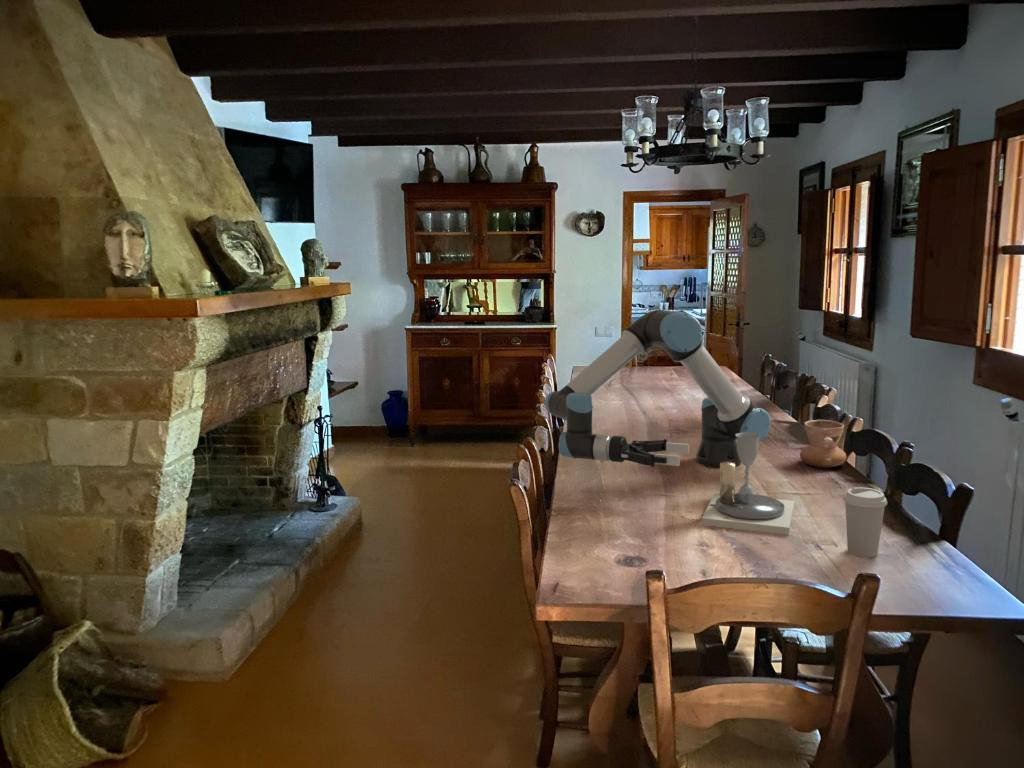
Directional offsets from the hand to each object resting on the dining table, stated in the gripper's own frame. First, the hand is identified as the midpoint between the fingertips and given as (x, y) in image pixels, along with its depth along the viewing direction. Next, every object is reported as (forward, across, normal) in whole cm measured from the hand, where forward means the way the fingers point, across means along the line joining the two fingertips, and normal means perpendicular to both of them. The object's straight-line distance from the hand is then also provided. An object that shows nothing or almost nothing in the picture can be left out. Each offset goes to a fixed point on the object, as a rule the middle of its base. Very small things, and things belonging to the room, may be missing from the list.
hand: (684, 454), depth 211 cm
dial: (+18, 0, -14) cm, 23 cm away
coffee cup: (+46, +16, -16) cm, 51 cm away
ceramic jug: (+35, -60, -16) cm, 71 cm away
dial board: (+18, 0, -16) cm, 24 cm away
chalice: (+15, -20, -16) cm, 30 cm away
